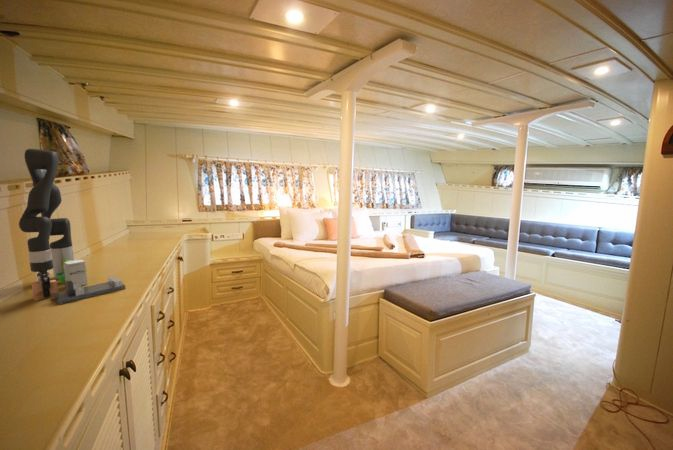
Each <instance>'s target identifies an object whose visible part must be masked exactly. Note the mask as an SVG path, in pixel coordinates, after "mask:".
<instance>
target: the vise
mask: <svg viewBox="0 0 673 450" xmlns="http://www.w3.org/2000/svg"><path fill="white" fill-rule="evenodd" d="M81 287H82V286H81ZM82 288H83V289H84V294H82V295H78V296H76V295H75V294H72V295H68V294H67V293H66V290H64V291H58V293H54V294H53V295H54V296H53V299H54V300H55V301H56V302H57V304H58V305H62V304H67V303H71V302H75V301H79V300H84V299H87V298H92V296H93V297H96V296H101V295H104V294H109V293H114V292H117V291H120V290H121V291H122V290H126V284H124V283H123V280H122V279H120V278H119V277H117V276H116V275H112V276H108V277H107V281H105V282H102V283H96V284H93V285H87V286H83V287H82Z"/></svg>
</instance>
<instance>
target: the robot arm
mask: <svg viewBox="0 0 673 450" xmlns="http://www.w3.org/2000/svg"><path fill="white" fill-rule="evenodd" d="M24 151H25V152H24V161H25V162H24V163H25V165H26V167H27V170H28V172H29V175H30V178H31V180H32V184H33V185H32V186H33V187H32V188H31V189H30V191H29V193H28V196H27V203H26V204H27V205H26V208H25V209H24V211H23V213H22V215H21V217H20V219H19V222H18V227H19V229H20V230H21V231H22V232H23V233H38V235H37V236H34V237H31V238H28V239H27V246H28V247H27V249H28V261H29V267H30V271H31V272H33V273H37V274H36V277H37V281H38V282H37V283H40V285H42V290H43V296H44V297H49V296H50V290H49V288H50V287H51V286H50V281H51V274H50V273H49V272H48V271H50V270H53V280H59V278H58V276H57V275H56V273H60V272H63V271H64V270H63V268H62V267H63V265H64V263H63V262H64V261H65V260H70V261H74V260H75V255H74V249H73V241H72V231H71V230H72V227H71V222H70V221H71V220H69V218H67V217H61V218H60V217H59V218H57V217H56V218H51V217H52V215H53V214H54V212H55V211H56V210H57V209H58V207H59V206H60V205H61V203H62V193H61V191H60V188H59V187H58V185H56V184H55V179H56V176H57V173H58V168H59V163H60V159H59V155H58V153H57V152H55V151H54V150H53V151H52V150H48V149H38V148H27V149H25V150H24ZM42 170H43V171H46V172H45V174H44V173H43V171H42ZM39 214H40V215H41V216H38V215H39ZM50 236H52V237H53V236H62V237H61V238H59V239H57V240H55V241H52V242H50ZM44 285H48V286H44ZM49 298H50V297H49Z"/></svg>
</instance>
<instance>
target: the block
mask: <svg viewBox="0 0 673 450" xmlns="http://www.w3.org/2000/svg"><path fill="white" fill-rule="evenodd" d="M44 286H48V285H44ZM50 286H51V287H50V288H49V290H50V296H49V297H44V296H43V290H42V285H40V283H39V282H36V283H31V288H32V295H33V299H34V301H39V300H43V299H44V300H45V299H48V298H52V297H53V298H54V295H53V294H54V293H59V289H58V281H57V279H50Z"/></svg>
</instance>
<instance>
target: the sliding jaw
mask: <svg viewBox="0 0 673 450" xmlns="http://www.w3.org/2000/svg"><path fill="white" fill-rule="evenodd" d="M64 287H65V291H66V293H67V294H68V295H72V294H75V295H76V296H78V295H82V294H84V289H83V288H82V286H80V285H79V284H78V283H77V284H73V282H71V281H65V284H64Z"/></svg>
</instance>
